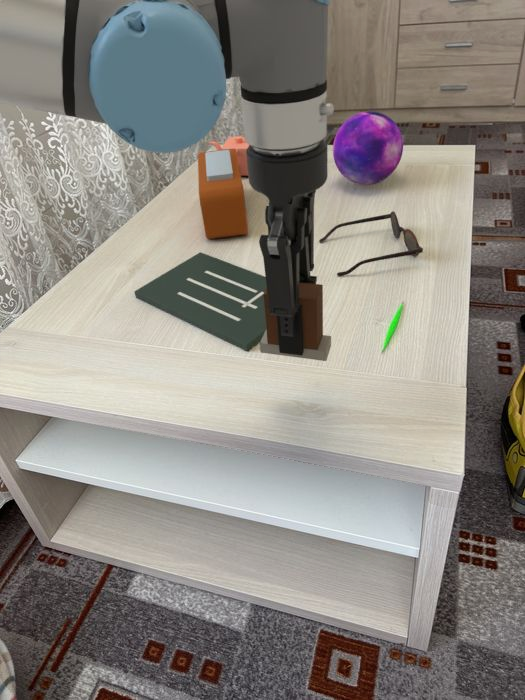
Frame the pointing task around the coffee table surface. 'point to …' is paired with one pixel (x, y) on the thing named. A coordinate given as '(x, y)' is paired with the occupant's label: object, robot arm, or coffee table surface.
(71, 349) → the coffee table surface
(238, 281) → the chalkboard
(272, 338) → the eraser
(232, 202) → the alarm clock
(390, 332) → the leaf
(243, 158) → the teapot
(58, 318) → the coffee table surface
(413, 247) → the eyeglasses
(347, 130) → the decorative orb
